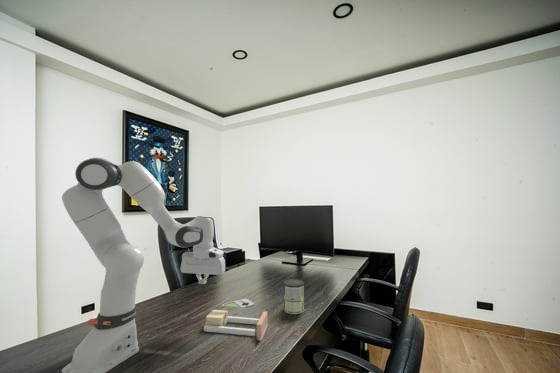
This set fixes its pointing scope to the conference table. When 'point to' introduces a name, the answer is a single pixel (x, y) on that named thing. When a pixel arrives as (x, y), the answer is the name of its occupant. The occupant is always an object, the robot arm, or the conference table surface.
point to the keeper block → (217, 318)
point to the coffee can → (293, 296)
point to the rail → (251, 332)
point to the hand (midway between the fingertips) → (202, 283)
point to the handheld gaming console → (240, 303)
